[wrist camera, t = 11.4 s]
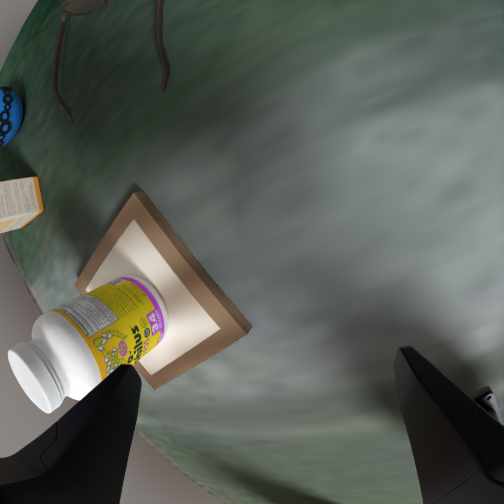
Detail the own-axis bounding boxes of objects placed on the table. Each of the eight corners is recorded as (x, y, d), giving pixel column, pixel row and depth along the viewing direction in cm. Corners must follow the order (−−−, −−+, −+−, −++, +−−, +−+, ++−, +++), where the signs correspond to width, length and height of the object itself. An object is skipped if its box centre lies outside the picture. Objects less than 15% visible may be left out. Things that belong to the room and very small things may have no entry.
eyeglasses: (182, -36, 17) (152, -59, 12) (178, 88, 20) (137, 74, 16) (79, 19, 22) (49, 9, 17) (69, 128, 25) (32, 128, 20)
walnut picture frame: (252, 326, 23) (246, 334, 21) (160, 383, 28) (153, 390, 27) (143, 191, 23) (133, 192, 22) (82, 281, 29) (73, 285, 27)
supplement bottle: (160, 355, 25) (63, 440, 13) (109, 312, 26) (7, 374, 14) (182, 302, 23) (57, 395, 11) (123, 257, 24) (-6, 313, 12)
